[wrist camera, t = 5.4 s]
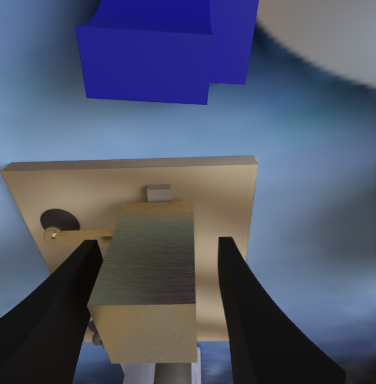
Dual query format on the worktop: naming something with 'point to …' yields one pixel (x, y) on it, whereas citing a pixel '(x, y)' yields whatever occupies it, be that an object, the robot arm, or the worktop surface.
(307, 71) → the worktop surface
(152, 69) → the cable clip
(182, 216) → the block
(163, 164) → the tan base plate
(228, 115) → the worktop surface
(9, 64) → the worktop surface
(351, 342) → the worktop surface
